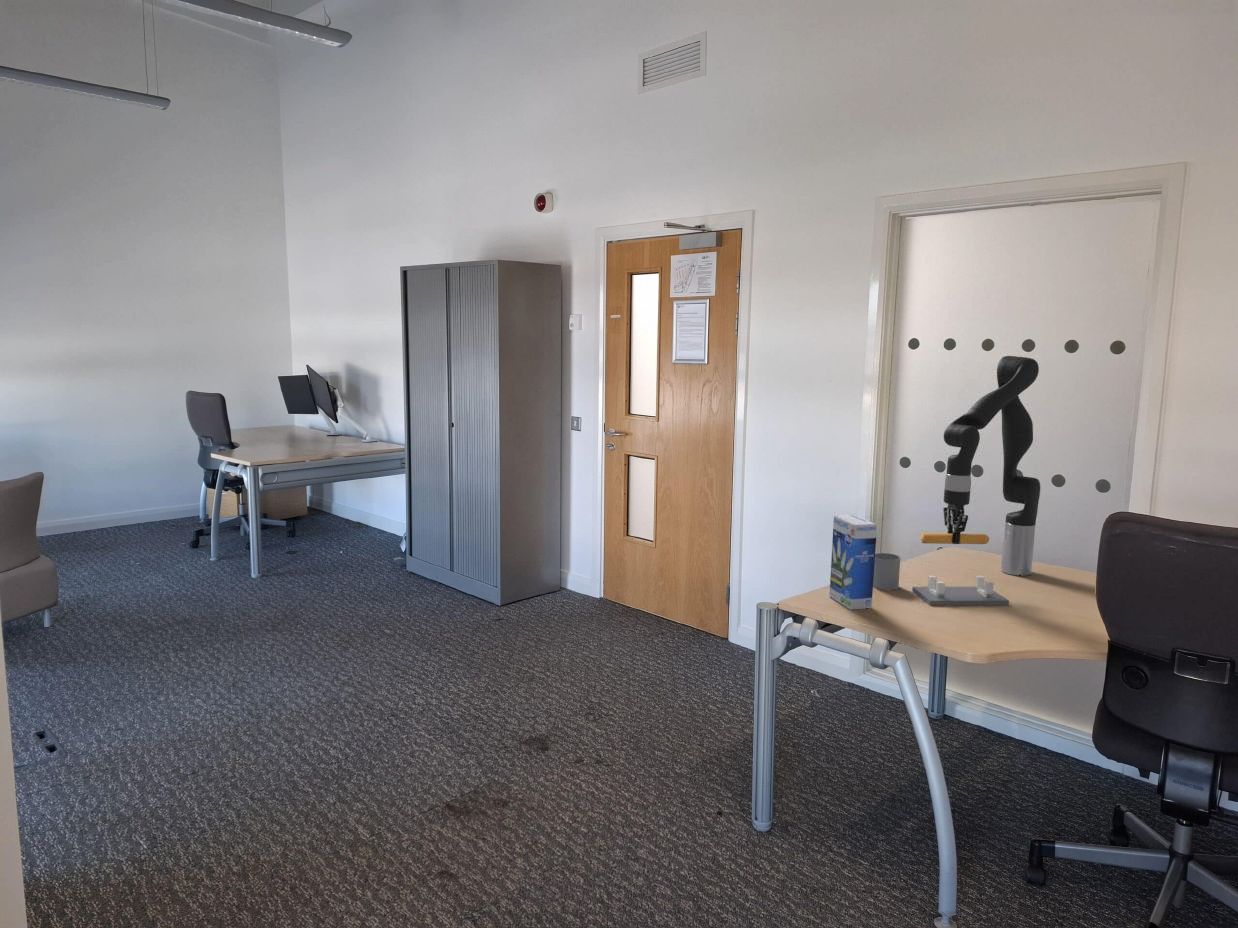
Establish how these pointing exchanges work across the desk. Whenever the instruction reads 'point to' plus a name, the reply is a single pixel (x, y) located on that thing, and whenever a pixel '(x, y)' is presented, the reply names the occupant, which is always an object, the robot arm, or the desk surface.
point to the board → (959, 593)
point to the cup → (886, 571)
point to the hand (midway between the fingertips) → (953, 542)
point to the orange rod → (947, 538)
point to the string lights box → (853, 561)
